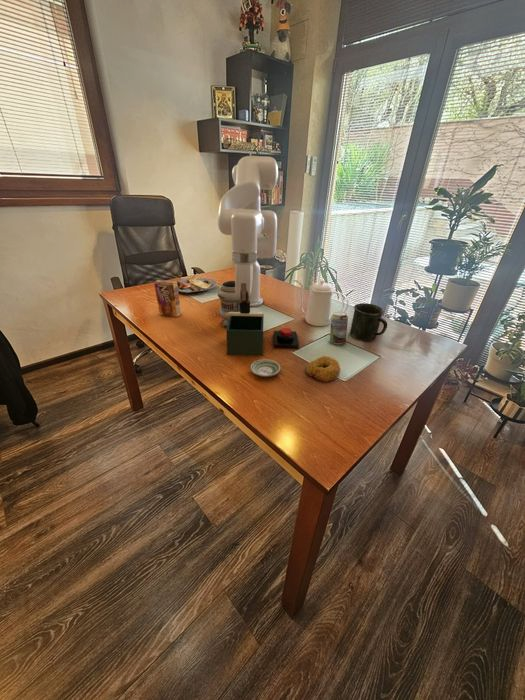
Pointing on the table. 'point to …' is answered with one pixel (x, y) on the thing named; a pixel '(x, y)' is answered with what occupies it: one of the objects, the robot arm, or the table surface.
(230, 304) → the apothecary jar
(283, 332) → the button
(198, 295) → the table surface
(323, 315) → the coffeepot
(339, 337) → the beverage can
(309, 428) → the table surface
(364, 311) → the mug
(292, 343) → the switch block
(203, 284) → the food plate
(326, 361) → the bagel
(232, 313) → the lid
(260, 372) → the saucer
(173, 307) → the candy box
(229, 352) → the box
